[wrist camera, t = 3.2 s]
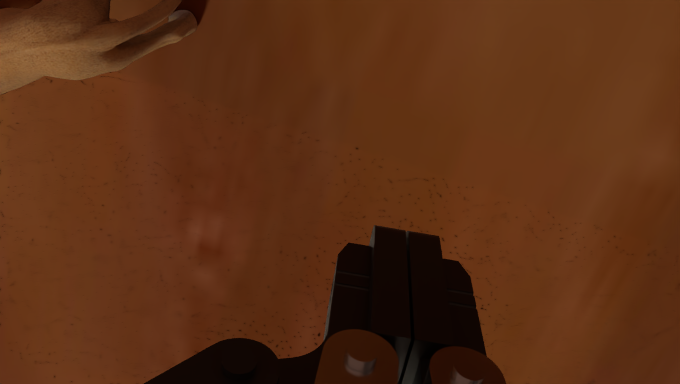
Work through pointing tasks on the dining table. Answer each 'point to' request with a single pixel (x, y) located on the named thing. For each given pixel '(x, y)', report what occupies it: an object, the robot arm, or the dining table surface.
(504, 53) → the dining table surface
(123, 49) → the lion figurine
